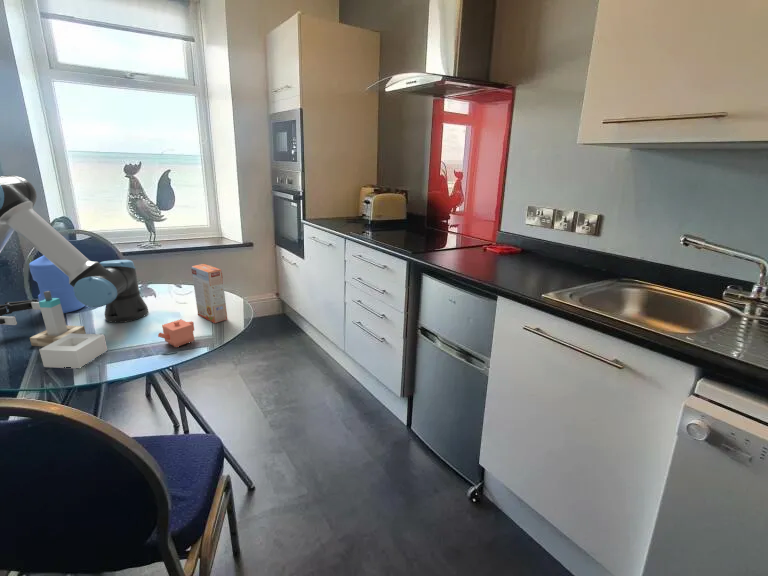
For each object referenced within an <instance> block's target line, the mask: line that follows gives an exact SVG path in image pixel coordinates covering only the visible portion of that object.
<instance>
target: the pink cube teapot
mask: <svg viewBox="0 0 768 576" xmlns="http://www.w3.org/2000/svg"><path fill="white" fill-rule="evenodd" d="M194 324H195V323H194V321H192V320H191V321H186V320H183V319H182V318H181V319H177V320H174V321H171V322H168V323H167V322H166V323H164V324H162V326H161V328H162V332H158V335H157V336H158V338H162V339H164V341H165V342H166V343H168V344H169V345H170V344H171V346H172V347H174V348H175V347H178V346H180V347H181V346H183V345H187V344H186V343H189V342H191V343H192V342H194V341H195V335H194V332H195V325H194ZM178 348H179V347H178Z"/></svg>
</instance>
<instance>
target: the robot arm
mask: <svg viewBox="0 0 768 576" xmlns="http://www.w3.org/2000/svg"><path fill="white" fill-rule="evenodd" d="M37 198H38V197H37V191H36V188H35V187H34V185H33V184H32V183H31V182H30V181H29V180H27V179H26V178H24V177H21V176H19V175H13V174H8V175H0V254H1V253H2V251H3V249H4V248H5V246H6V245H7V243H8V242H9V240H10V239H11V237H12V235H13V233H14V232H16V233H17V234H18V235H20V237H22V238H23V239H24V240H25V241H27V242H28V244H30V245H31V246H32V247H34V249H36V250H37V251H38V252H39V253H41V255H42V256H43V255H44V256H45V257H46V258H47V259H49V260H50V261H51V262H52V263H53V264H54V265H56V266H57V267H58V268H59V269H60V270H61V271H63V272H64V273H65V274H66V275H67V276H68V277H69V284H70V285H71V286H73V287H74V292H75V294H74V295H75V297H76V298H77V299H78V300H79V301H80V302H81V303H82V304H84V305H85V306H86V307H90V308H101V307H105V308H104V318H105V321H106V322H109V323H126V322H125V321H127V322H132V321H135V319H136V320H139V319H141V318H140V317H142V318H144V317H145V316H147V315H148V314H149V309H148V305H147V304H146V302H145V300H144V299H143V297H142V295H141V292H140V287H139V282H138V281H139V280H138V277H137V272H136V269H137V268H136V266H135V264H134V261H132V260H130V259H114V260H113V259H112V260H104V261H101V262H99V261H92V260H90V258H88V257H86V256H85V255H84V254H83V253H82V252H81V251H80V250H79V249H77V247H76V246H74V245H73V244H72V243H71V242H70V241H68V239H67V238H66V237H64V236H63V235H62V234H61V233H60V232H59V231H58V230H57V229H55V228H54V227H53V226H52V225H51V224H50V223H48V221H46V219H45V218H43V217H42V216H40V214H38V212H36V211H35V209H34V207H35V205H36V201H37ZM27 310H35V311H41V308H40V305H39V300H38V299H32V298H31V299H29V300H27V299H26V300H19V301H6V302H4V304H0V325H7V326H17V325H18V322H17V319H16V316H5V315H10V314H13V313H15V312H20V311H21V312H22V311H27ZM147 313H148V314H147ZM146 314H147V315H146ZM144 315H145V316H144ZM143 316H144V317H143ZM138 318H139V319H138ZM131 320H132V321H131Z"/></svg>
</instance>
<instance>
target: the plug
mask: <svg viewBox="0 0 768 576" xmlns="http://www.w3.org/2000/svg"><path fill="white" fill-rule="evenodd" d="M44 296H45V300H42V301H40V302H39V301H38V302H39V305H40V308H41V310H40V312H41V314H42V318H43V319H42V320H43V322H44V326H45V330H47V334H48V335H53V336H59V335H61V334H63V333H65V332H67V331H68V330H67V326H68V325H67V322H66V319H65V315H64V313H63V311H62V307H61V303H60V299H59V298H52V296H51V293H50V291H45V292H44ZM66 325H67V326H66Z"/></svg>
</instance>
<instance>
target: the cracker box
mask: <svg viewBox="0 0 768 576" xmlns="http://www.w3.org/2000/svg"><path fill="white" fill-rule="evenodd" d="M190 268H191V275H192V280H193V281H192V282H193V289H194V294H195V296H194V297H195V303H196V310H197V315H198V316H199V317H202V318H204V319H206V321H209V322H211V323H213V324H217V323H220V322H224V321H227V320H228V313H227V305H226V304H227V303H226V296H225V295H226V294H225V288H224V279H223V270H222V269H220V268H218V267H214V266H212V265H209V264H205V263H200V264H196V265H192V266H190Z"/></svg>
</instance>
